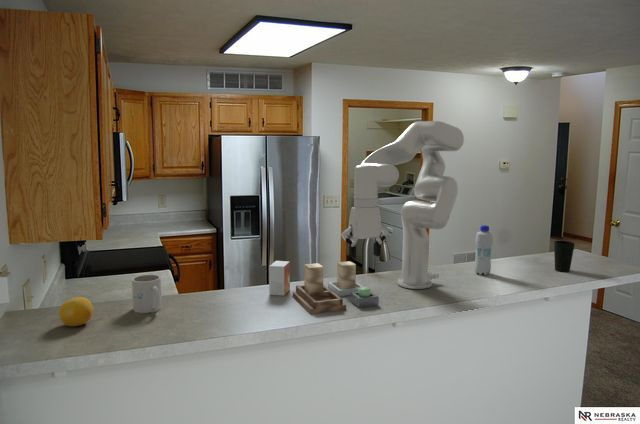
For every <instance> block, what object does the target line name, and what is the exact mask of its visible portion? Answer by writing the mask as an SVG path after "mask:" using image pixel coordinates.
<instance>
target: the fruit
mask: <svg viewBox="0 0 640 424" xmlns="http://www.w3.org/2000/svg"><path fill="white" fill-rule="evenodd" d="M58 311H59V312H58V316H59V320H60V321H61V322H62V323H63V324H65V325H66V326H67V327H79V326H82V325H84V324H87V323H88V322H89V321H90V320H91V318H92V316H93V314H94V307H93V303H92V302H91V301H90V300H89V299H87V298H85V297H81V296H77V297H76V296H75V297H72V298H70V299H68V300H66V301H65V302H63V304H61V306H60V308H59V310H58Z"/></svg>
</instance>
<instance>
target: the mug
mask: <svg viewBox="0 0 640 424" xmlns="http://www.w3.org/2000/svg"><path fill="white" fill-rule="evenodd" d="M161 281H162V278H161V276H160V275H158V274H141V275H137V276H134V277H132V279H131V288H132V291H131V292H132V307H133V308H132V309H133V312H134V311H135V313H137V312H139V314H150V313H149V312H151V313H155V312H158V311H161V310H162V307H163V303H162V300H163V299H162V298H163V297H162V282H161Z"/></svg>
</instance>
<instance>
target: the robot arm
mask: <svg viewBox="0 0 640 424" xmlns="http://www.w3.org/2000/svg"><path fill="white" fill-rule="evenodd" d="M464 142H465V137H464V133H463V132H462V129H460V128H458V127H457V126H454V125H451V124H449V123H446V122H444V121H439V120H425V121H423V120H421V121H415V122H413V123H411V124H410V125H409V126H408V127H407V128H406V129H405V130H404V132H403V133H401V135H400V136H399V137H398V138H397V139H396V140H395V141H393V142H392V143H389V144H386V145H385V146H383V147H381V148H379V149H377V150H375V151H373V152H372V153H371V154H369V155H368V156H367V157H366V158H365V159H364V160H363V161H362V162H361V163H360V164H359V165H356V166H355V168H354V178H353V179H354V186H353V188H354V190H353V193H354V195H353V206H352V207H350V211H349V212H350V213H349V217H348V218H349V219H348V227H347V228H346V229H345V230H343V231H342V232H341V233H340V236H341V238H342V239H343V240H344V241H345V242H346V244H348V250H349V252H348V254H349V257H350V258H352V259H355V260H356V258H357V246H356V244H357V242H358V240H365V239H366V240H368V239H373V240H374V243H373V251H372V252H373V253H372V254H373V255H374V256H376V257H378V258H379V257H380V254H381V246H382V244H383V242H384V241H385V239H386V238H387V236H388V234H389V233H390V232H389V231H390V230H388V229H387V228H385V227H384V226H383V225H382V219H381V210H380V207H378V206H379V204H382V199H381V198H380V199H379V197H378V196H379V194H378V191H379V189H378V188H379V187H382V188H383V187H385V188H389V187H392V186H394V185H396V184H397V182H398V181H399V178H400V172H399V170H398V168H397V167H396V165H397V166H398V165H402V164H405V163H407V162H410V161H411V160H413V159H414V157H415V156H416V155H417V154H418V153H419V152H420V151H421V155H422V165H421V168H420V171H419V173H418V176H417V178H416V181H415V183H414V184H415V185H414V188H413V193H414V194H413V195H414V196H415V197H416V198H417V199H419V200H409V201H406V202H405V203H404V204H403V205H402V207H401V209H400V218H401V224H402V233H403V234H402V261H401V262H402V264H401V268H402V269H401V277H400V278H398V280H397V285H398V286H400V287H402V288H406V289H409V290H411V289H412V290H425V289H429V288H431V287H432V286H433V282H432V281H431V280H433V279H440V274H439V273H436V272H434V273H433V272H429V253H430V237H429V236H430V235H429V233H428V232H427V229H429V230H430V229H431V230H442V229H444V228H445V227H446V226H447V224H448V222H449V220H450V217H451V214H452V211H453V208H454V206H455V202H456V199H457V196H458V191H459V190H458V189H459V188H458V182H457V180H455V178H454V177H452V176H447V175H444V174H445V171H446V163H445V160H444V159H443V157H442V154H440V152H457V151H459V150H460V149H462V147H463V145H464ZM348 236H349V237H350V238H349V237H348Z"/></svg>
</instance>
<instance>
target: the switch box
mask: <svg viewBox="0 0 640 424" xmlns="http://www.w3.org/2000/svg"><path fill="white" fill-rule="evenodd" d="M349 299H350V300H349V301H350V302H351V303H352V304H354V305H355V306H356V307H357V308H359V309H360V308H368V307H369V308H370V307H376V306H377V307H378V306H379V299H380V298H379V296H378V295H377V294H375V293H374V292H372V291H370V296H369V297H359V296H358V292H351V293H350V295H349Z"/></svg>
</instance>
